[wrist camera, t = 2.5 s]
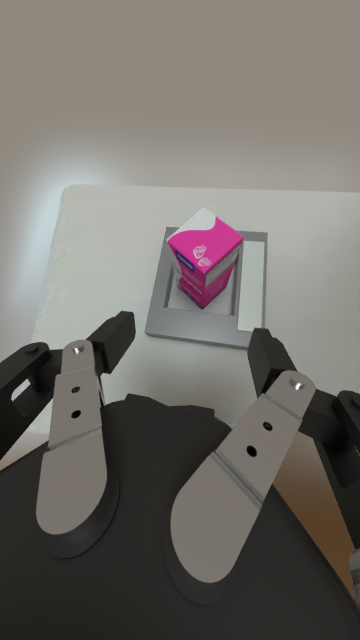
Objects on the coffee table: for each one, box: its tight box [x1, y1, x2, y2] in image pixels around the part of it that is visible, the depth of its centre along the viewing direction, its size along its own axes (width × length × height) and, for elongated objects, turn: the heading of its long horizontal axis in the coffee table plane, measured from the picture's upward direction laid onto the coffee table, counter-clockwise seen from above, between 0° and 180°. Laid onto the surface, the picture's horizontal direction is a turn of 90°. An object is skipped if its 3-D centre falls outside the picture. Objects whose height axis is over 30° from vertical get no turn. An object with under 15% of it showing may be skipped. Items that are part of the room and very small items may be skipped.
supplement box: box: [166, 207, 244, 309], centre depth 23 cm, size 6×6×12 cm
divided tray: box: [144, 227, 268, 350], centre depth 27 cm, size 16×18×3 cm
